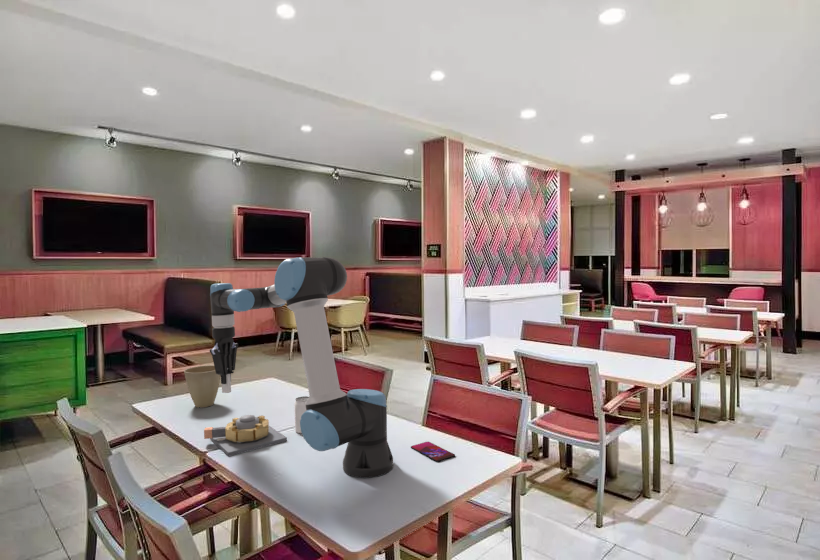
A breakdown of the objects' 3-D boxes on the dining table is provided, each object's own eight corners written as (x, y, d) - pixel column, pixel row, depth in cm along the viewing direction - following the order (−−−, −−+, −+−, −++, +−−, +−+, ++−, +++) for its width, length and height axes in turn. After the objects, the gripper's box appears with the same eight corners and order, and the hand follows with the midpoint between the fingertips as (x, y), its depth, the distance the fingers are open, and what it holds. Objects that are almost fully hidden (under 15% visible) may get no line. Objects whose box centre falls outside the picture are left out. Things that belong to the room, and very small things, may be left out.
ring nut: (269, 425, 180) (269, 413, 180) (267, 439, 166) (266, 426, 166) (208, 431, 175) (208, 418, 175) (201, 445, 162) (200, 432, 161)
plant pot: (229, 400, 219) (228, 365, 218) (208, 411, 204) (207, 373, 204) (200, 399, 222) (198, 364, 221) (177, 409, 208) (176, 372, 207)
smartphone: (428, 441, 167) (456, 454, 154) (428, 443, 167) (456, 457, 154) (409, 446, 162) (436, 461, 150) (409, 449, 162) (436, 463, 150)
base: (286, 440, 170) (286, 418, 170) (228, 456, 158) (227, 431, 157) (264, 425, 186) (264, 404, 185) (209, 438, 173) (209, 416, 173)
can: (309, 434, 176) (308, 401, 175) (292, 433, 177) (291, 400, 176) (316, 428, 182) (315, 396, 181) (299, 427, 183) (298, 395, 183)
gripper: (226, 324, 182) (229, 387, 183) (201, 329, 170) (205, 396, 170) (243, 324, 180) (246, 388, 181) (220, 329, 167) (223, 397, 168)
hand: (226, 392), depth 175 cm, fingers closed
